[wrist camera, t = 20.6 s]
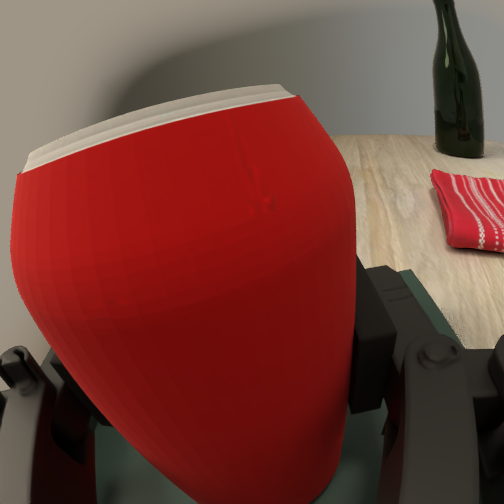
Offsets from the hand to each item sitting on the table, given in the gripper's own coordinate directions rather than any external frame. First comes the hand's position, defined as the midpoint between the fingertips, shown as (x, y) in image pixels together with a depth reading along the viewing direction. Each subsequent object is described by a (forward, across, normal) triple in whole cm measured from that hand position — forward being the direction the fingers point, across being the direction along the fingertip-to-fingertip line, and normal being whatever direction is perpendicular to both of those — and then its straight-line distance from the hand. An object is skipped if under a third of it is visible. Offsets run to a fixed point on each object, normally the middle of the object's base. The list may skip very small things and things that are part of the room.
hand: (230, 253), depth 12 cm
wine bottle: (+41, +40, -8) cm, 58 cm away
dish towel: (+11, +29, -7) cm, 32 cm away
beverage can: (-5, 0, -7) cm, 8 cm away
